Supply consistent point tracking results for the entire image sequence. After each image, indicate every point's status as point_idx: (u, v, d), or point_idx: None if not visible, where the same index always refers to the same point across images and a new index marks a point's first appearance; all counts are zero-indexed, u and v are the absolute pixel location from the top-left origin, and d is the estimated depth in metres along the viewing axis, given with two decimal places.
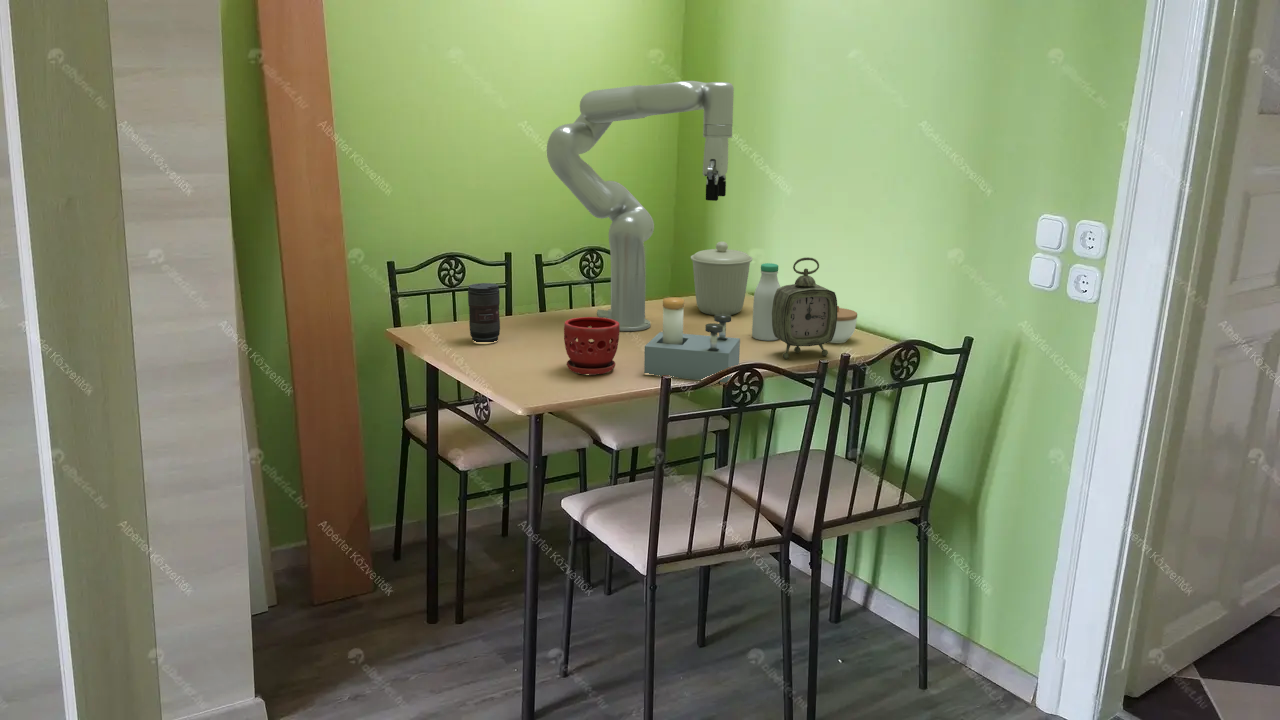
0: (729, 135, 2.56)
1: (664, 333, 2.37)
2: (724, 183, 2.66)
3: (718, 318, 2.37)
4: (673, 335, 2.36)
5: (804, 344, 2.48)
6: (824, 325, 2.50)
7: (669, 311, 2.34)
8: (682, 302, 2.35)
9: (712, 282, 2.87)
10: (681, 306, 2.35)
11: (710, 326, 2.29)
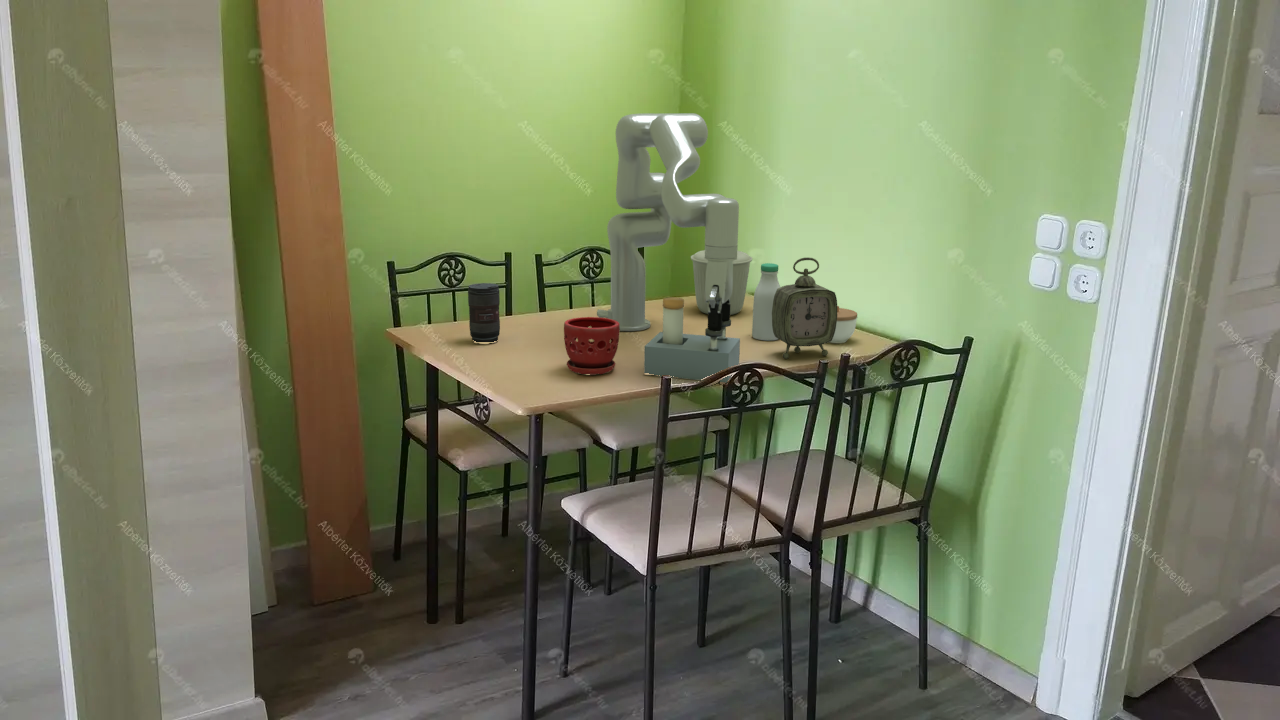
0: (734, 257, 2.28)
1: (664, 333, 2.37)
2: (728, 306, 2.37)
3: None
4: (673, 335, 2.36)
5: (804, 344, 2.48)
6: (824, 325, 2.50)
7: (669, 311, 2.34)
8: (682, 302, 2.35)
9: None
10: (681, 306, 2.35)
11: (710, 330, 2.29)
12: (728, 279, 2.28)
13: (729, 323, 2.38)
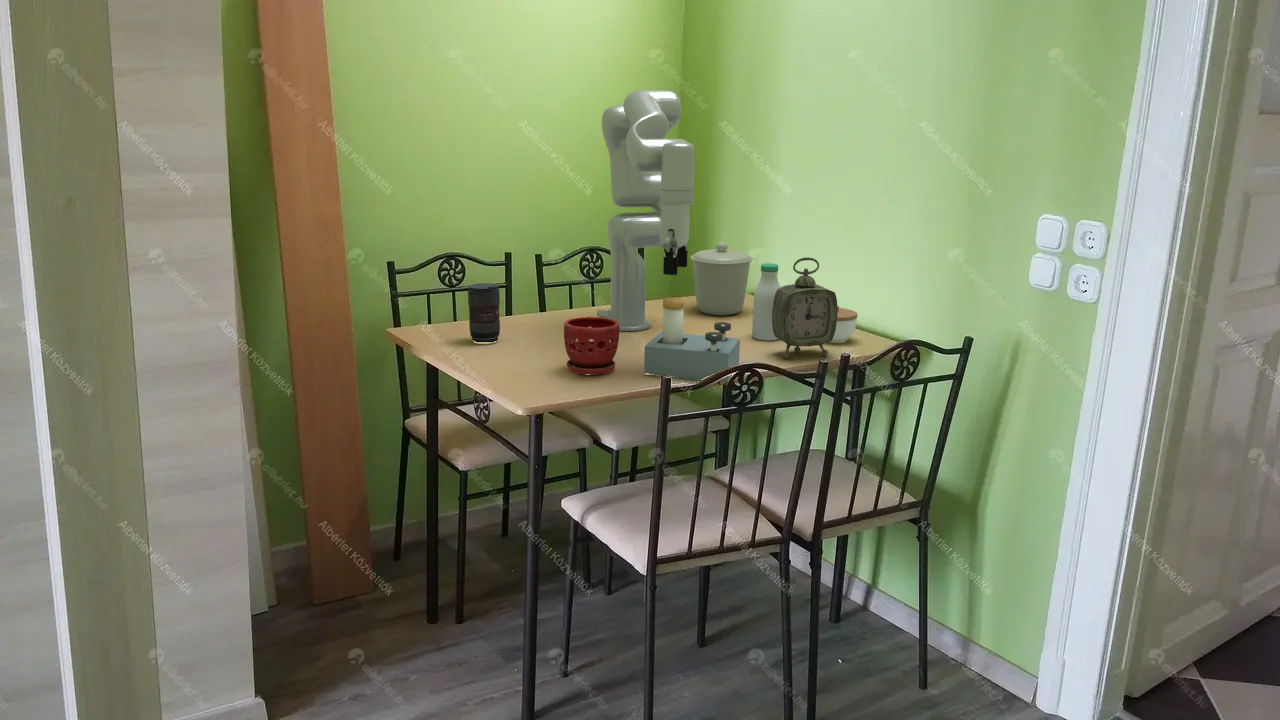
0: (690, 202, 2.27)
1: (664, 333, 2.37)
2: (685, 253, 2.37)
3: (717, 326, 2.38)
4: (673, 335, 2.36)
5: (804, 344, 2.48)
6: (824, 325, 2.50)
7: (669, 311, 2.34)
8: (682, 302, 2.35)
9: (712, 282, 2.87)
10: (681, 306, 2.35)
11: (710, 335, 2.29)
12: (684, 223, 2.28)
13: (729, 327, 2.38)
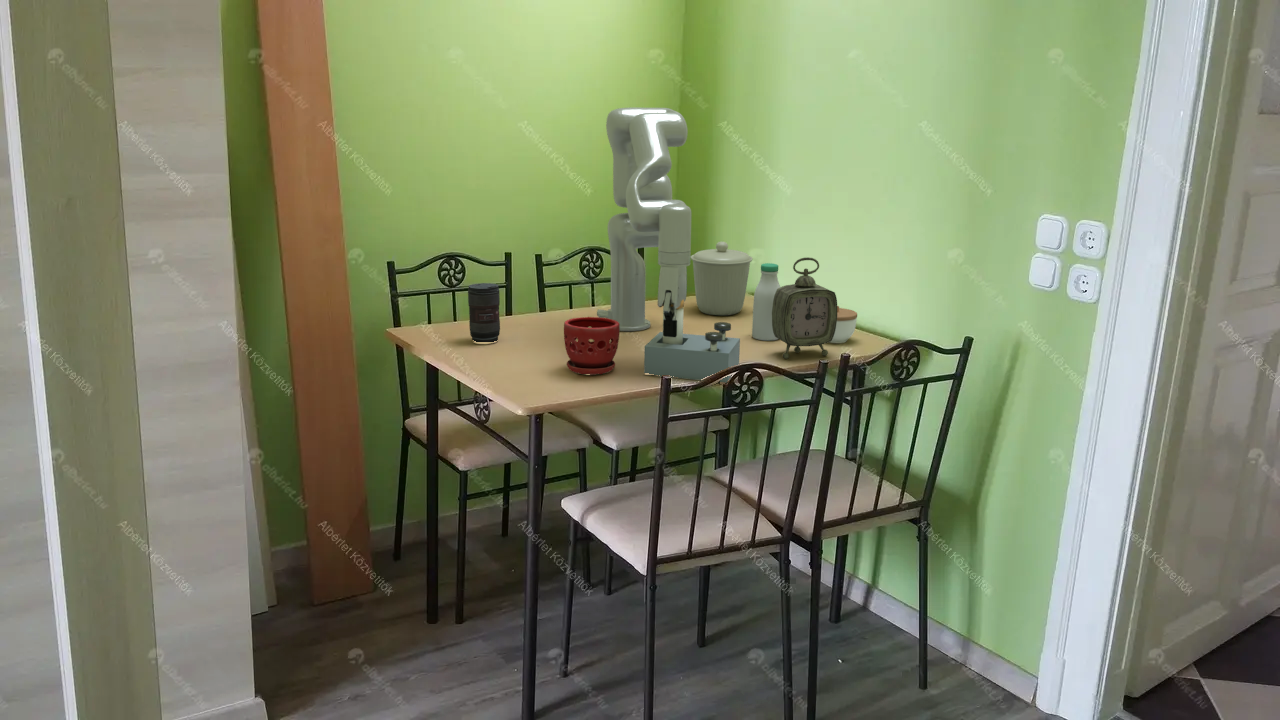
0: (687, 263, 2.31)
1: None
2: None
3: (717, 326, 2.38)
4: None
5: (804, 344, 2.48)
6: (824, 325, 2.50)
7: None
8: (682, 302, 2.35)
9: (712, 282, 2.87)
10: (681, 306, 2.35)
11: (710, 335, 2.29)
12: (681, 284, 2.32)
13: (729, 327, 2.38)
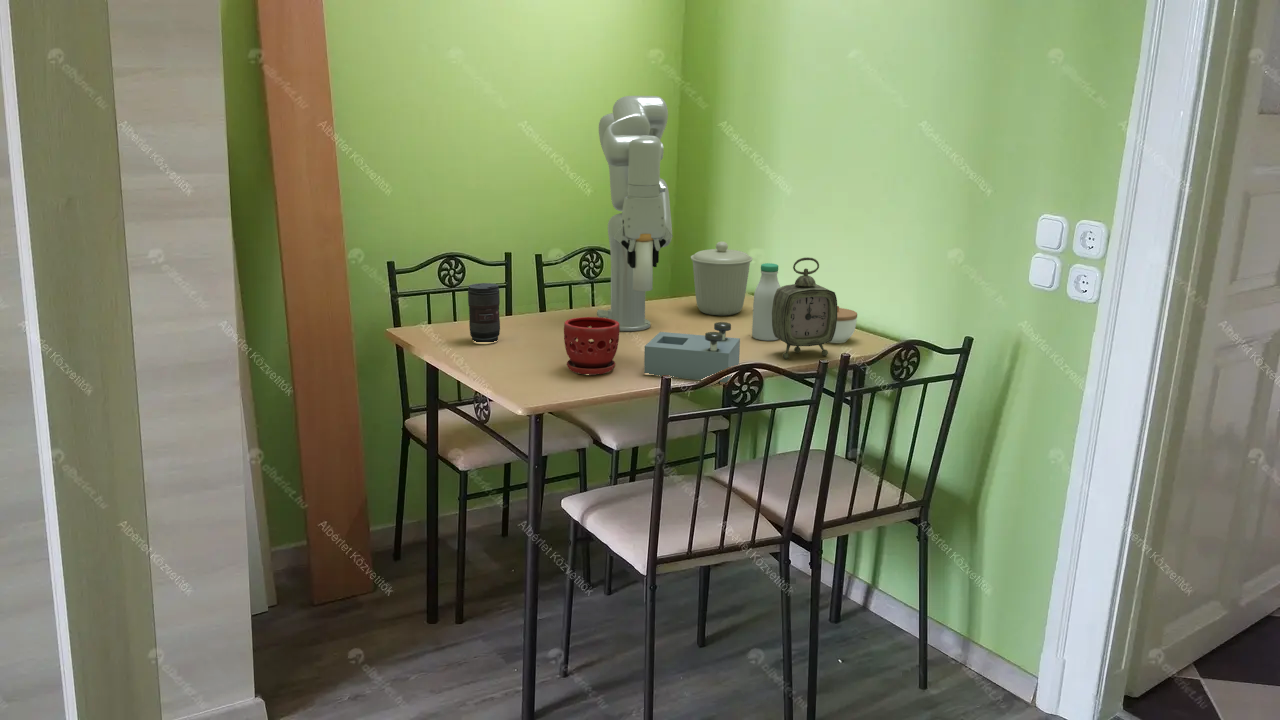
0: (641, 197, 2.36)
1: None
2: (654, 253, 2.43)
3: (717, 326, 2.38)
4: None
5: (804, 344, 2.48)
6: (824, 325, 2.50)
7: None
8: (643, 235, 2.40)
9: (712, 282, 2.87)
10: (641, 239, 2.40)
11: (710, 335, 2.29)
12: (636, 217, 2.38)
13: (729, 327, 2.38)
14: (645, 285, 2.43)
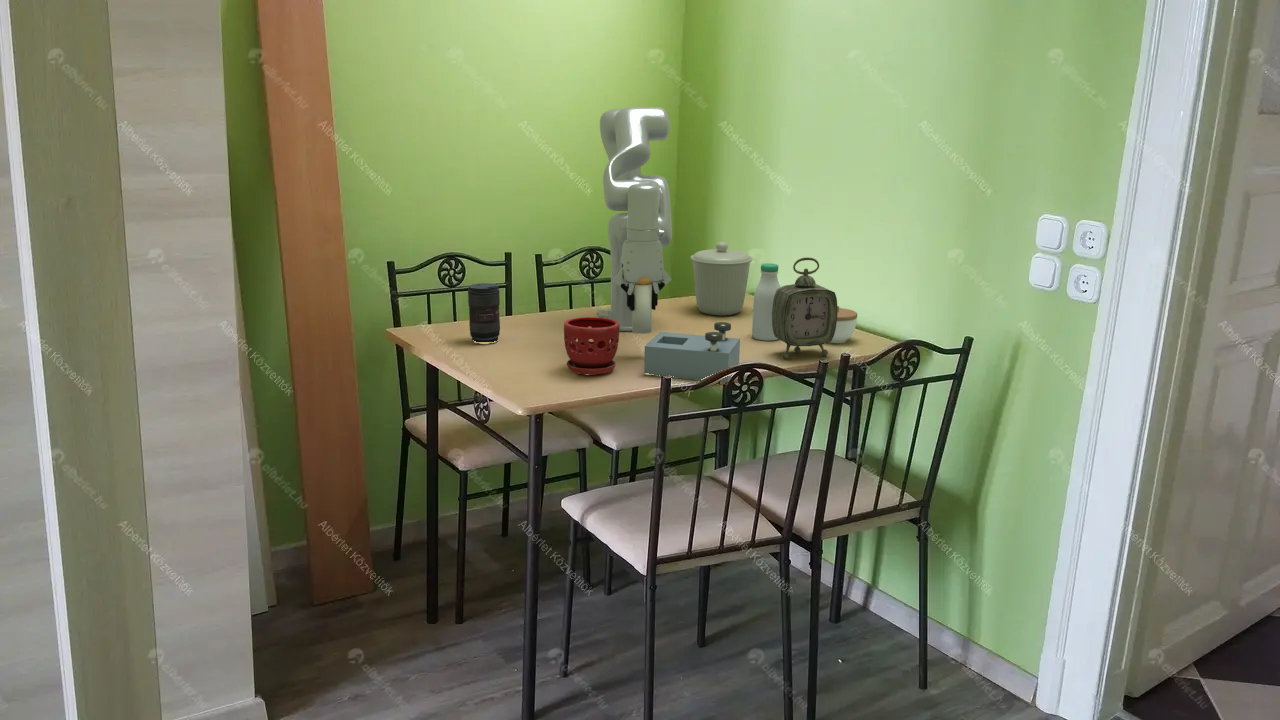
0: (640, 241, 2.39)
1: None
2: (652, 296, 2.45)
3: (717, 326, 2.38)
4: None
5: (804, 344, 2.48)
6: (824, 325, 2.50)
7: None
8: (642, 279, 2.42)
9: (712, 282, 2.87)
10: (640, 282, 2.43)
11: (710, 335, 2.29)
12: (635, 261, 2.41)
13: (729, 327, 2.38)
14: (644, 328, 2.46)
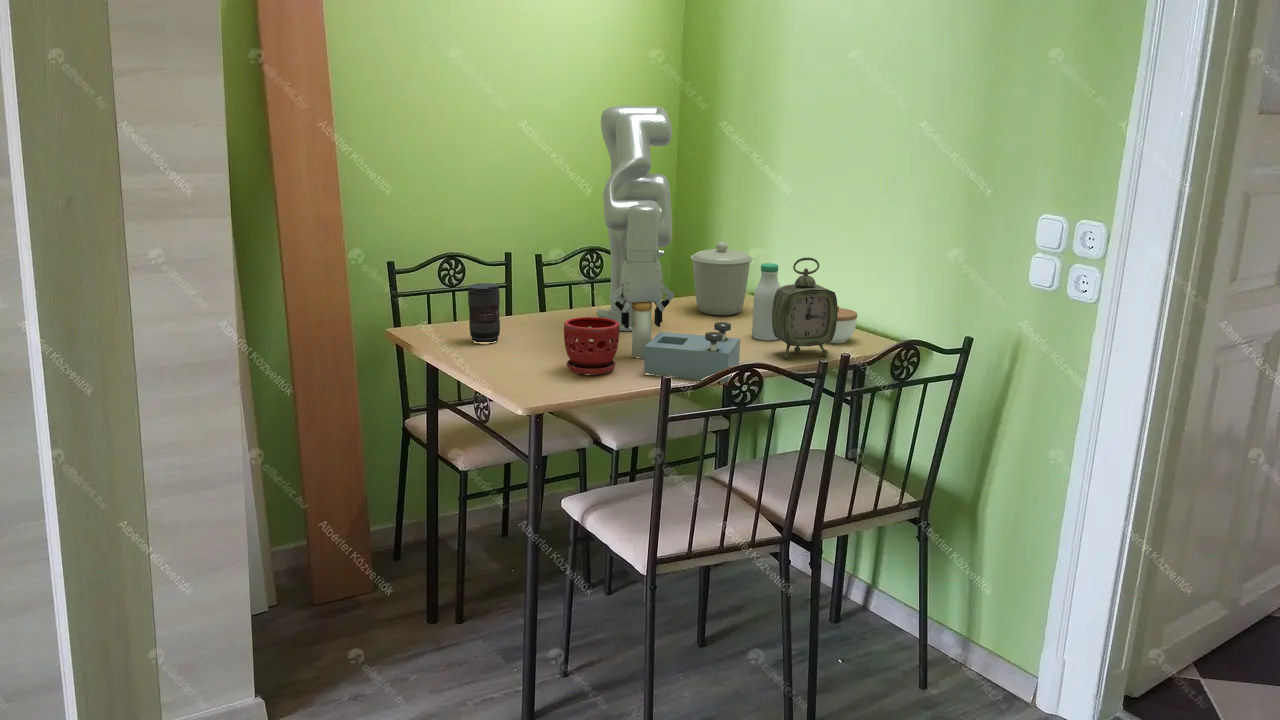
0: (639, 262, 2.40)
1: None
2: (657, 313, 2.47)
3: (717, 326, 2.38)
4: (633, 334, 2.48)
5: (804, 344, 2.48)
6: (824, 325, 2.50)
7: (632, 311, 2.47)
8: (641, 305, 2.45)
9: (712, 282, 2.87)
10: (640, 309, 2.45)
11: (710, 335, 2.29)
12: (635, 281, 2.42)
13: (729, 327, 2.38)
14: (643, 353, 2.48)
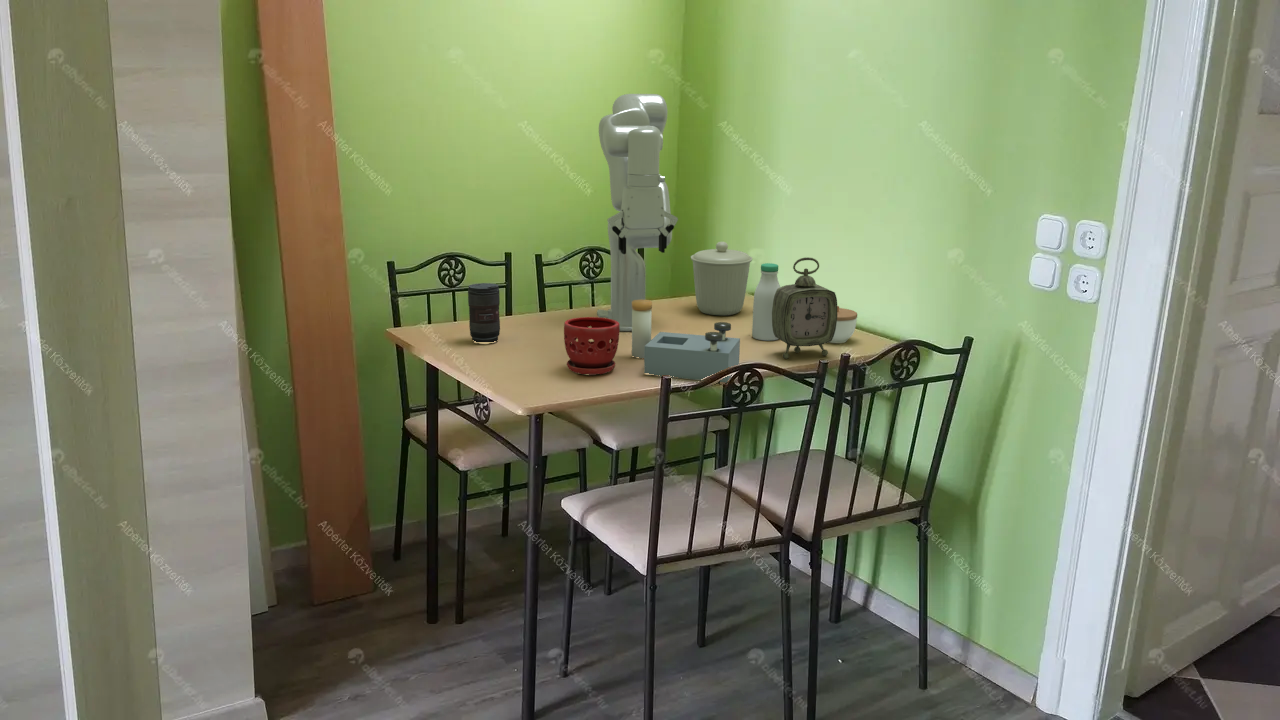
0: (640, 186, 2.35)
1: None
2: (662, 238, 2.42)
3: (717, 326, 2.38)
4: (633, 334, 2.48)
5: (804, 344, 2.48)
6: (824, 325, 2.50)
7: (632, 311, 2.47)
8: (641, 305, 2.45)
9: (712, 282, 2.87)
10: (640, 309, 2.45)
11: (710, 335, 2.29)
12: (636, 207, 2.37)
13: (729, 327, 2.38)
14: (643, 353, 2.48)
